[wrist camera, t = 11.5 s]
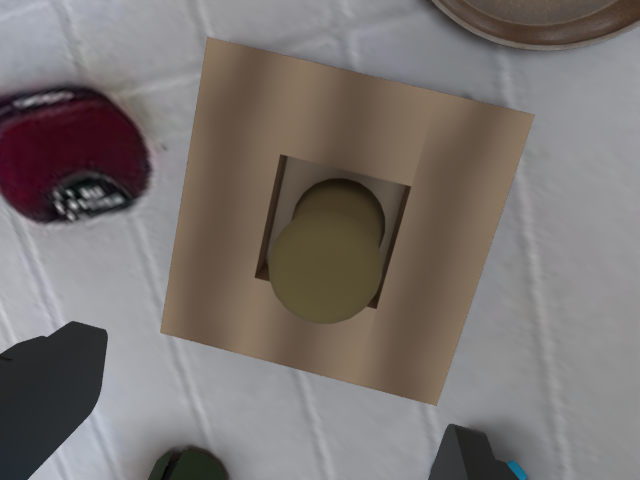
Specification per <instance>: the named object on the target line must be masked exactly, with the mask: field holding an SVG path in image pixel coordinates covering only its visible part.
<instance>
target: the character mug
mask: <svg viewBox="0 0 640 480" xmlns="http://www.w3.org/2000/svg"><path fill="white" fill-rule="evenodd" d="M172 453H173V452H168V453H167V454H166V455H164V456H163V457H161V458H160V459H159V460H157V462H156V464H155V466H154V468H153V470H152V472H151V474H150V476H149V478H148V480H226V479H225V477H224V474H223V472H222V470H221V468H220V465H218V464H217V463H216V462H214V461H213V460H212V459H211V458H209V457H208V456H207V455H206V454H203V453H199V452H196V451H193V450H189V449H187V450H184V451H183V453H182V455H181V457H180V459H179V461H178V462H174V463H171V464H169V465H167V464H168V462H169V460H170V458H171V455H172Z"/></svg>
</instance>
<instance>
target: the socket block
mask: <svg viewBox="0 0 640 480" xmlns="http://www.w3.org/2000/svg"><path fill="white" fill-rule="evenodd" d="M534 116H535V115H534V114H530V113H525V112H521V111H517V110H513V109H509V108H504V107H500V106H496V105H492V104H488V103H483V102H479V101H475V100H471V99H466V98H462V97H458V96H454V95H450V94H445V93H441V92H437V91H433V90H429V89H424V88H420V87H416V86H412V85H407V84H403V83H399V82H395V81H391V80H386V79H382V78H378V77H374V76H369V75H365V74H361V73H357V72H353V71H348V70H344V69H340V68H336V67H332V66H327V65H323V64H319V63H315V62H310V61H306V60H302V59H298V58H294V57H289V56H285V55H281V54H277V53H273V52H268V51H264V50H260V49H256V48H251V47H247V46H243V45H239V44H235V43H230V42H226V41H222V40H218V39H214V38H209V37H207V43H206V49H205V55H204V61H203V68H202V74H201V80H200V86H199V93H198V99H197V105H196V111H195V118H194V124H193V130H192V136H191V143H190V149H189V155H188V161H187V168H186V174H185V180H184V186H183V193H182V199H181V205H180V211H179V218H178V224H177V230H176V236H175V243H174V249H173V255H172V261H171V268H170V274H169V280H168V286H167V293H166V299H165V305H164V311H163V318H162V324H161V330H160V333H163V334H167V335H171V336H175V337H178V338H182V339H186V340H190V341H194V342H197V343H201V344H205V345H209V346H212V347H216V348H220V349H224V350H228V351H231V352H235V353H239V354H243V355H246V356H250V357H254V358H258V359H262V360H265V361H269V362H273V363H277V364H280V365H284V366H288V367H292V368H295V369H299V370H303V371H307V372H311V373H314V374H318V375H322V376H326V377H329V378H333V379H337V380H341V381H345V382H348V383H352V384H356V385H360V386H363V387H367V388H371V389H375V390H379V391H382V392H386V393H390V394H394V395H397V396H401V397H405V398H409V399H412V400H416V401H420V402H424V403H428V404H431V405H435V406H437V403H438V400H439V397H440V394H441V391H442V388H443V385H444V382H445V379H446V376H447V374H448V371H449V368H450V365H451V362H452V359H453V356H454V353H455V350H456V347H457V344H458V341H459V338H460V335H461V332H462V329H463V326H464V323H465V320H466V317H467V314H468V311H469V308H470V305H471V302H472V299H473V296H474V294H475V291H476V288H477V285H478V282H479V279H480V276H481V273H482V270H483V267H484V264H485V261H486V258H487V255H488V252H489V249H490V246H491V243H492V240H493V237H494V234H495V231H496V228H497V225H498V222H499V219H500V216H501V214H502V211H503V208H504V205H505V202H506V199H507V196H508V193H509V190H510V187H511V184H512V181H513V178H514V175H515V172H516V169H517V166H518V163H519V160H520V157H521V154H522V151H523V148H524V145H525V142H526V139H527V136H528V134H529V131H530V128H531V125H532V122H533V119H534ZM330 178H346V179H349V180H352V181H356V182H359V183H361V184H362V185H363V186H365V187H366V188H368V189H369V190H371V191H372V192H373V194H374V195H375V196H376V198H377V199H378V200H379V202H380V203H381V206H382V209H383V212H384V215H385V234H384V237H383V240H382V243H381V246H380V248H379V251H380V254H381V259H382V278H381V281H380V284H379V287H378V290H377V293H376V294H375V296H374V297H373V298H372V300H371V301H370V302H369V304H368V305H367V306H366V307H365V309H364V310H362V311H361V312H359V313H358V314H356V315H355V316H353V317H352V318H350V319H348V320H345V321H341V322H338V323H334V324H316V323H313V322H310V321H307V320H303V319H300V318H299V317H297V316H296V315H294V314H293V313H291V312H290V311H288V310H287V309H286V308H285V307H284V306H283V304H282V303H281V302H280V301H279V299H278V298H277V297H276V295H275V293H274V290H273V288H272V285H271V283H270V280H269V265H268V259H269V255H270V252H271V248H272V244H273V243H274V241H275V240H276V238H277V237H278V235H279V234H280V232H281V231H282V229H283V228H284V227H285V226H286V225H288V224H289V223H290V222H292V217H293V213H294V209H295V206H296V204H297V202H298V201H299V199H300V198H301V196H302V195H303V193H304V192H305V191H306V190H308V189H309V188H310V187H312V186H313V185H314V184H315V183H318V182H321V181H324V180H327V179H330Z"/></svg>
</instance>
